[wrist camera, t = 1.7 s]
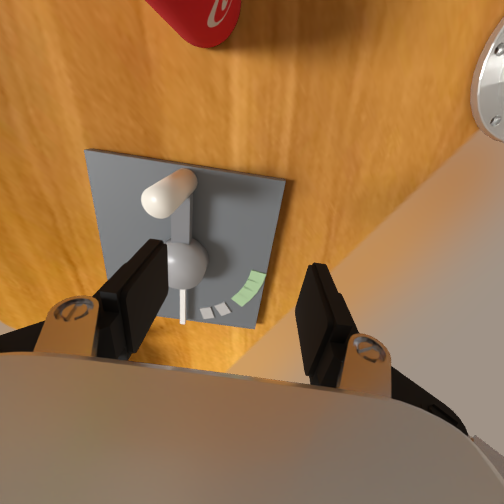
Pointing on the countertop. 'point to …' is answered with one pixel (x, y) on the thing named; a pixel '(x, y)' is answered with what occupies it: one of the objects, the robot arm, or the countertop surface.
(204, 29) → the beverage can
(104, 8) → the countertop surface
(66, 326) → the robot arm
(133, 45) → the countertop surface
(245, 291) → the board
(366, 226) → the countertop surface
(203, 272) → the peg dial
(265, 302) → the countertop surface
